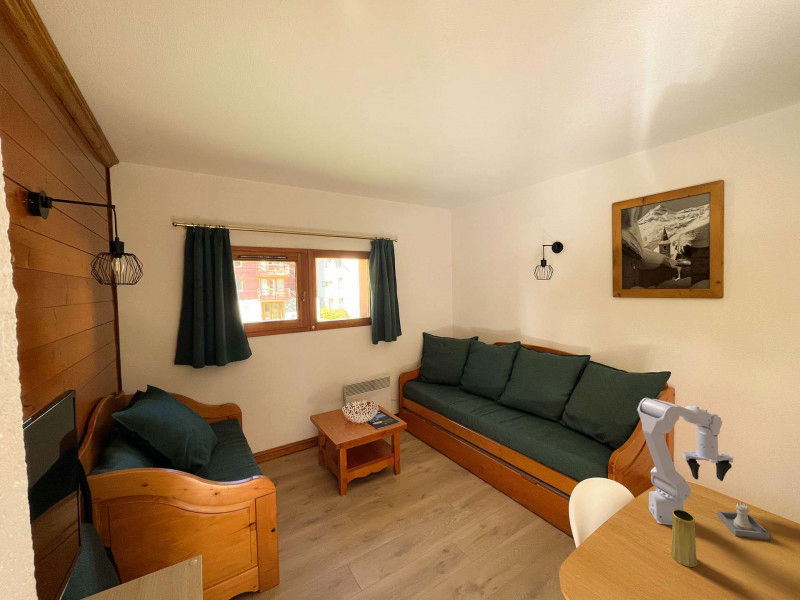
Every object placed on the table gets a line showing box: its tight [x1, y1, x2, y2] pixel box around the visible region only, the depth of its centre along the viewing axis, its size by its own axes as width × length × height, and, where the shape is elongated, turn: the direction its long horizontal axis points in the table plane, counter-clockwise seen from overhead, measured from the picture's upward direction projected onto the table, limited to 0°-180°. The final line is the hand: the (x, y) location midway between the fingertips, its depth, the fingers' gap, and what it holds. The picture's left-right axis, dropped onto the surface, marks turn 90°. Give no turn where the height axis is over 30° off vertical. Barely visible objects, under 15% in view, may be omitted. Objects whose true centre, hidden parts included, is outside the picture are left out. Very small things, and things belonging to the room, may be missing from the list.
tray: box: [717, 510, 771, 541], centre depth 111 cm, size 9×9×2 cm
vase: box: [670, 509, 698, 568], centre depth 101 cm, size 6×6×14 cm
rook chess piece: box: [733, 502, 752, 531], centre depth 110 cm, size 4×4×8 cm
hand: (707, 478), depth 122 cm, fingers open, 7 cm apart
